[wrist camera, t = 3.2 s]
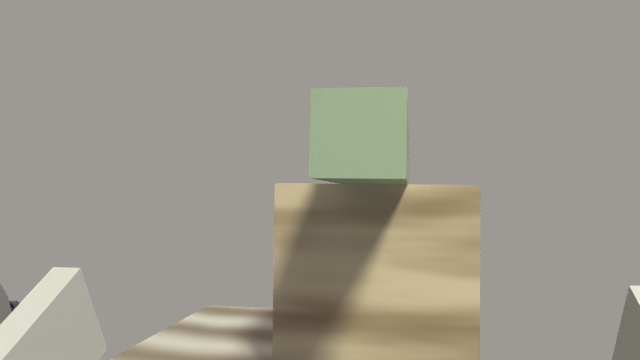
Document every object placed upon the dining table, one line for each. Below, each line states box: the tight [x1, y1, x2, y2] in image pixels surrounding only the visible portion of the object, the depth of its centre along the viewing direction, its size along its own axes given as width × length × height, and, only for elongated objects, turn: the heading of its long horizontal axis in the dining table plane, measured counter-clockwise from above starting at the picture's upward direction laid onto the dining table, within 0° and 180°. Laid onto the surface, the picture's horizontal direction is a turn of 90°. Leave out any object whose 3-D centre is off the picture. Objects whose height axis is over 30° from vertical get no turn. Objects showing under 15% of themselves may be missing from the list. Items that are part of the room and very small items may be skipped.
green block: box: [309, 87, 409, 184], centre depth 31 cm, size 26×3×3 cm, turn 171°
